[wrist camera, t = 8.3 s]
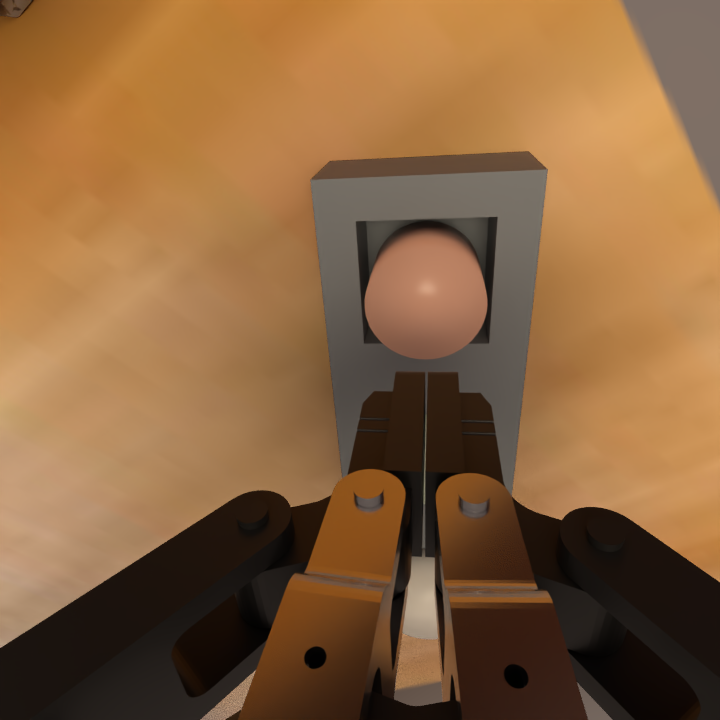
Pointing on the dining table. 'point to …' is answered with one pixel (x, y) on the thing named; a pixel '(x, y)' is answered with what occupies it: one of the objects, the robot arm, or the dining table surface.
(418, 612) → the cream button
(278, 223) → the dining table surface
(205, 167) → the dining table surface
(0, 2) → the coffee box
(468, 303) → the terracotta button
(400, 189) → the button panel
